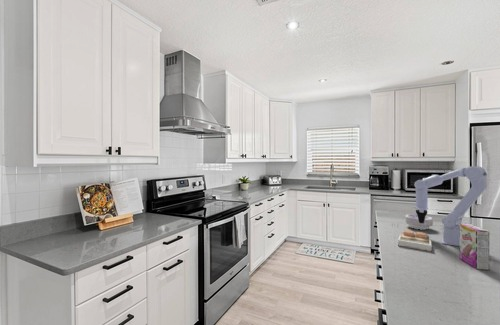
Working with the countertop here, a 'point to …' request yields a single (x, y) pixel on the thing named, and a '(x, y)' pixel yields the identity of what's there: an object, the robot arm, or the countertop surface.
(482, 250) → the candy bar box
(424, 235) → the terracotta tile
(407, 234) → the terracotta tile
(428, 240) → the oak board
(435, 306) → the countertop surface
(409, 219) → the white purple patterned bowl
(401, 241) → the bin
